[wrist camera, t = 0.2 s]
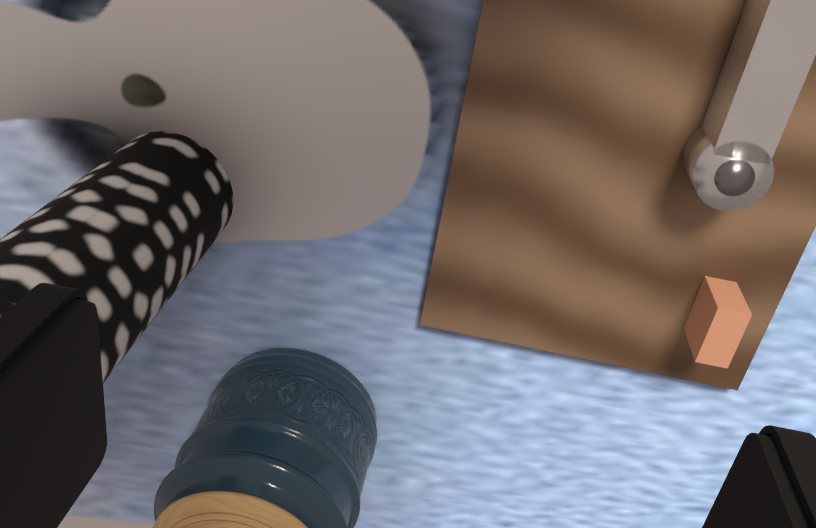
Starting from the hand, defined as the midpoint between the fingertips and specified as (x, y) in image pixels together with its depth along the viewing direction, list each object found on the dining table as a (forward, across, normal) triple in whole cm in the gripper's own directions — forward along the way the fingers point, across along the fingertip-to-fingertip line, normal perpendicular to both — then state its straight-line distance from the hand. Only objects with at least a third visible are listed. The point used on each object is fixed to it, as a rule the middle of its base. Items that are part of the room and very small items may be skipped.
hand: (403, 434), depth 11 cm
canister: (+37, +9, +33) cm, 50 cm away
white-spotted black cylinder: (+36, +19, +16) cm, 44 cm away
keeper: (+35, -17, +16) cm, 42 cm away
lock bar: (+35, -14, 0) cm, 38 cm away
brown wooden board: (+36, -10, +6) cm, 38 cm away
